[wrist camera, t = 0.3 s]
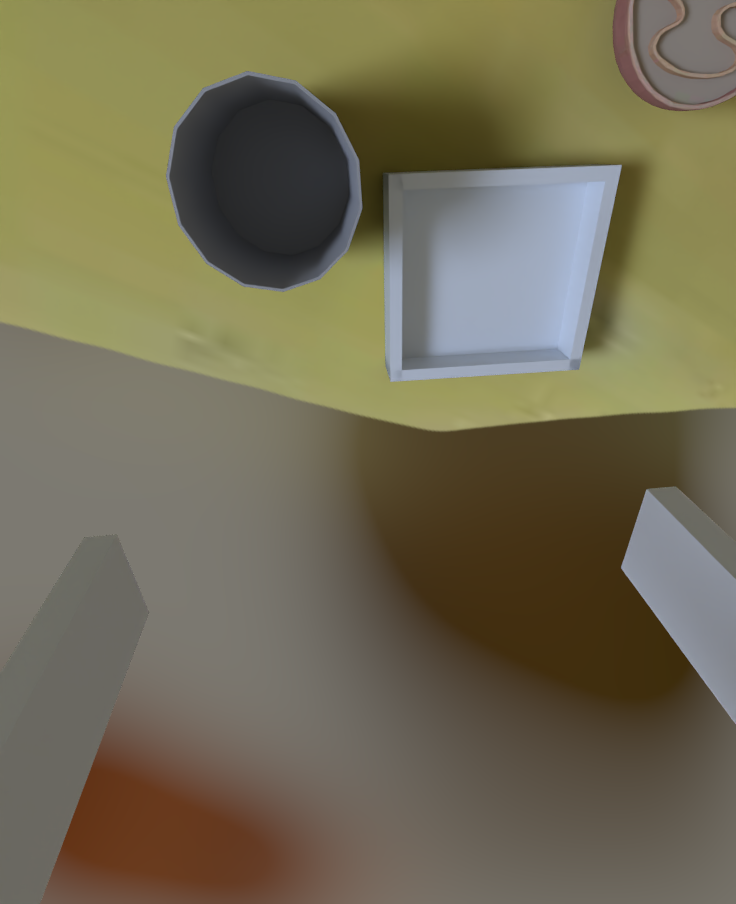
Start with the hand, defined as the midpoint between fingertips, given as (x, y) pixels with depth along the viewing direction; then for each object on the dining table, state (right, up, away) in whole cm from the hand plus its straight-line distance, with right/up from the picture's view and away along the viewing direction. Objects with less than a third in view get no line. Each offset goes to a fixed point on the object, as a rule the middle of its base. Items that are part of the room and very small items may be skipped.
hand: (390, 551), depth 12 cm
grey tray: (+7, +15, +21) cm, 27 cm away
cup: (-6, +19, +17) cm, 26 cm away
